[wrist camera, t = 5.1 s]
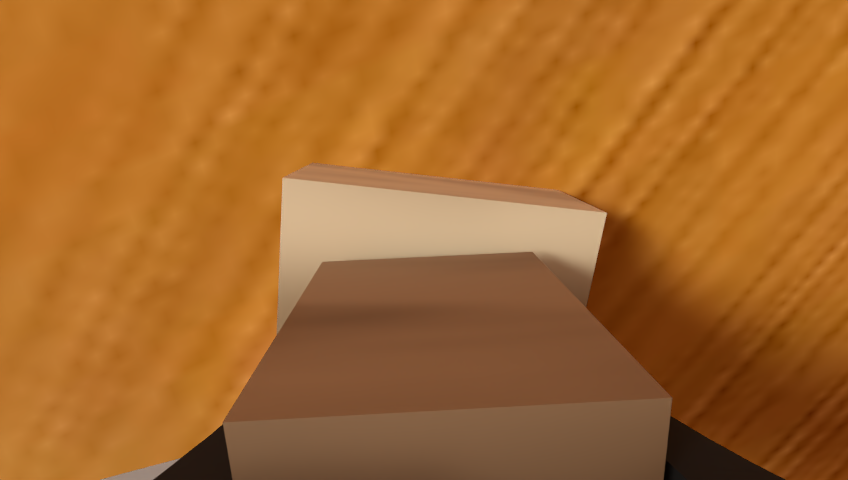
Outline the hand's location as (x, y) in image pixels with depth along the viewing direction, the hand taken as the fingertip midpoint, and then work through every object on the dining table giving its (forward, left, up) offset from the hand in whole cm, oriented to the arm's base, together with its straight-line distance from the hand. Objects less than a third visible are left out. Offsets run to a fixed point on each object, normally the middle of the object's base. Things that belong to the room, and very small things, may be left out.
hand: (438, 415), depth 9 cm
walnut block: (0, 0, -2) cm, 2 cm away
